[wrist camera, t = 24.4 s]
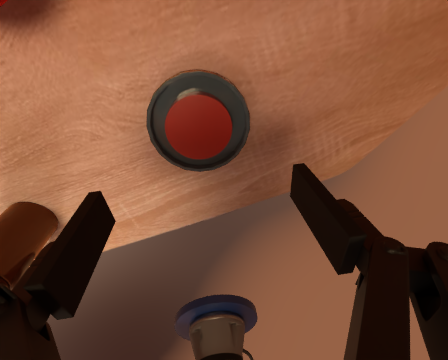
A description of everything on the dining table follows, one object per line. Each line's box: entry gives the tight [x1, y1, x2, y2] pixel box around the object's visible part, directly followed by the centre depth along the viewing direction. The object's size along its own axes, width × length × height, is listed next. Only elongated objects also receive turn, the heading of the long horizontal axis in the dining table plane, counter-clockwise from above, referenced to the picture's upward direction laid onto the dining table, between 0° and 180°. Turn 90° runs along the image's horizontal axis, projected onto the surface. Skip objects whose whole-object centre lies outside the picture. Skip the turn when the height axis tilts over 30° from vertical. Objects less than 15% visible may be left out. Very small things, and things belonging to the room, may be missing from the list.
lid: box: [165, 91, 232, 159], centre depth 25 cm, size 8×8×2 cm
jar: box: [0, 202, 58, 290], centre depth 27 cm, size 6×6×12 cm
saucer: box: [147, 70, 250, 172], centre depth 26 cm, size 12×12×2 cm
